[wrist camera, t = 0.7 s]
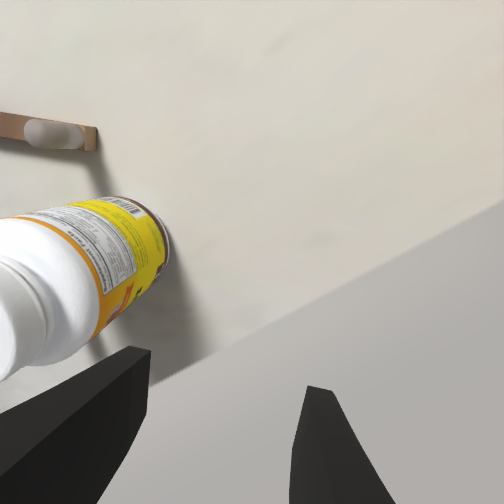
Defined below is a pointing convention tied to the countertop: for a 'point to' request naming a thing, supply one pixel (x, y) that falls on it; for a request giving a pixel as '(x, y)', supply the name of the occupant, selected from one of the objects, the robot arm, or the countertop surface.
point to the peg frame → (47, 132)
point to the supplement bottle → (72, 275)
